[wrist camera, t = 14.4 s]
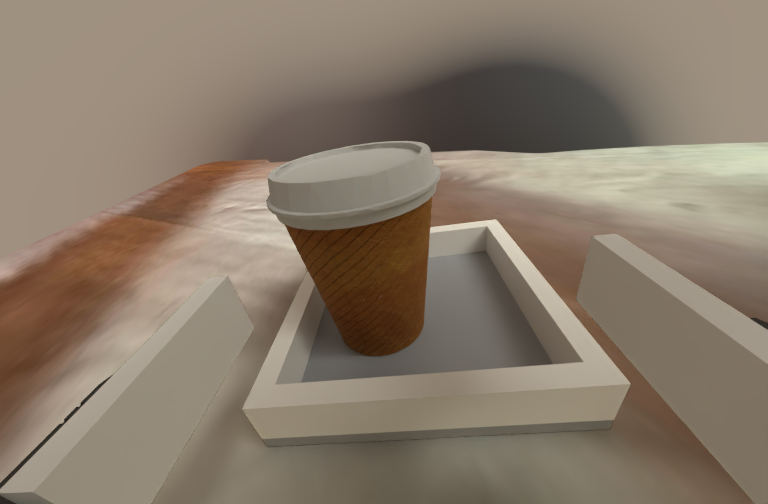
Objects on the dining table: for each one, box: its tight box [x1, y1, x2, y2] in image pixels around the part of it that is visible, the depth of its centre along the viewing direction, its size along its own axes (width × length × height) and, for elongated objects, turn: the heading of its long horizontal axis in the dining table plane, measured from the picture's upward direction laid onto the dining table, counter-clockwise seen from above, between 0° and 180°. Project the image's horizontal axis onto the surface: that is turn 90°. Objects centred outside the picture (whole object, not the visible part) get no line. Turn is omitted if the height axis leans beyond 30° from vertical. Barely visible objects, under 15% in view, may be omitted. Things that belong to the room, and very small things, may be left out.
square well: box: [242, 220, 631, 447], centre depth 21 cm, size 17×17×4 cm
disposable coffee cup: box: [266, 141, 441, 356], centre depth 18 cm, size 10×10×12 cm
